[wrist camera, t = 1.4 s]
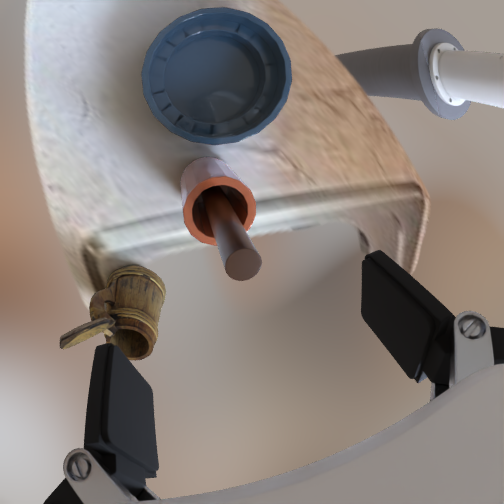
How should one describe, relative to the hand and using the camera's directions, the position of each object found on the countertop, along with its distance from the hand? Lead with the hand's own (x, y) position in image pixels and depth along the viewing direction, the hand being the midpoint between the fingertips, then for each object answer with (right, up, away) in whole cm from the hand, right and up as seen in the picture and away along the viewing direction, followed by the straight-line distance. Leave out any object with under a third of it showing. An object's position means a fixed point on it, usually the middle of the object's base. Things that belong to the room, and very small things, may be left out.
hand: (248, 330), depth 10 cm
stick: (-5, +11, +26) cm, 28 cm away
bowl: (-5, +23, +20) cm, 31 cm away
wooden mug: (-18, -1, +30) cm, 35 cm away
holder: (-6, +12, +26) cm, 29 cm away
